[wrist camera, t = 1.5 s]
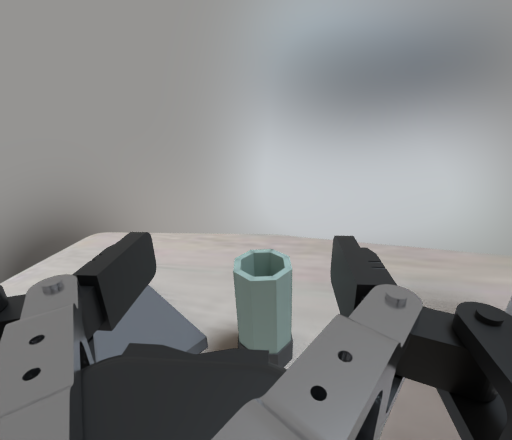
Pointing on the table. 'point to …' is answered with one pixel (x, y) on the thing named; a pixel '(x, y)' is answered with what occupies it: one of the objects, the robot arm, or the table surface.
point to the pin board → (150, 328)
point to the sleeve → (264, 303)
